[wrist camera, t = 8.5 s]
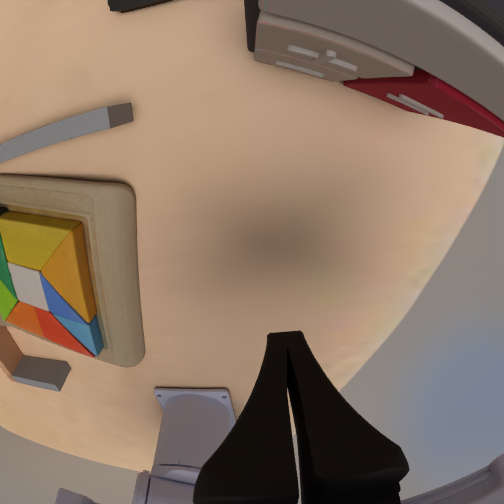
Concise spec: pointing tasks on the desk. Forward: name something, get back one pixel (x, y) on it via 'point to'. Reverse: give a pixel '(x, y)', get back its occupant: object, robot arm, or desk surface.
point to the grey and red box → (393, 51)
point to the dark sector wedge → (132, 4)
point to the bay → (3, 346)
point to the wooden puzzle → (72, 265)
